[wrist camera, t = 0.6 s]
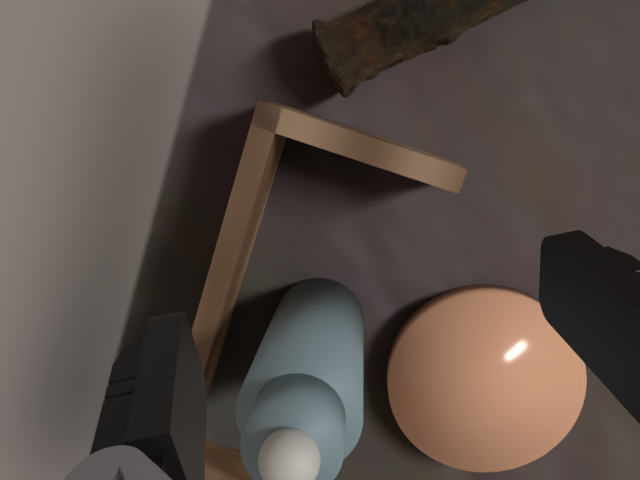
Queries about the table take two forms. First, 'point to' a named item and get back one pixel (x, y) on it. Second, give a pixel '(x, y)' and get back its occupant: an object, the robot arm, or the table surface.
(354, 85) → the brown piece
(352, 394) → the pepper mill
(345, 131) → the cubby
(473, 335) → the trivet
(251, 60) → the table surface
